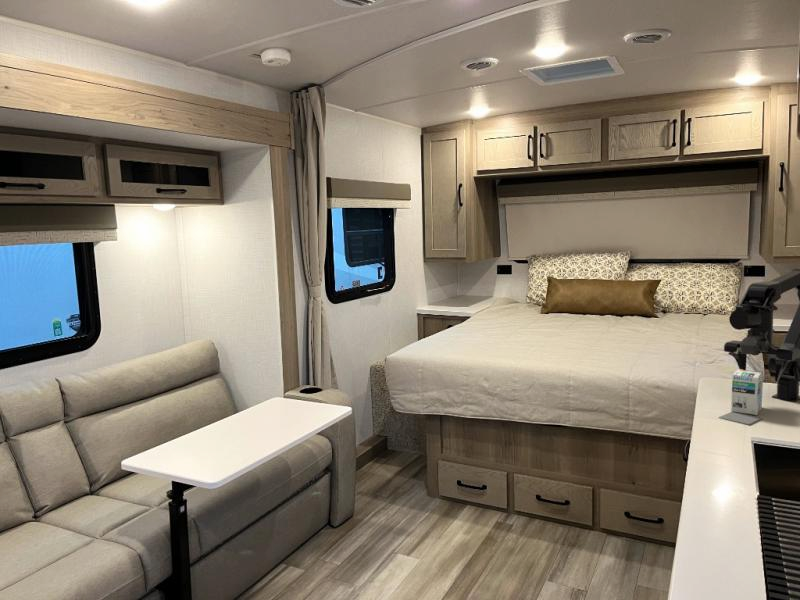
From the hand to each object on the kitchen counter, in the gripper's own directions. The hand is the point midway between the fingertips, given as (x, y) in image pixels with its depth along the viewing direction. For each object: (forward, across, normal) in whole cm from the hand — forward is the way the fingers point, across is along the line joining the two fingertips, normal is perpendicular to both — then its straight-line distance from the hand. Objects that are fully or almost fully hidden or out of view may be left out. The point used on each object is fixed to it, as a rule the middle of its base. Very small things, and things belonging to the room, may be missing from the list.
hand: (759, 378), depth 178 cm
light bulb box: (+8, 0, -8) cm, 11 cm away
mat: (+8, +2, -17) cm, 19 cm away
